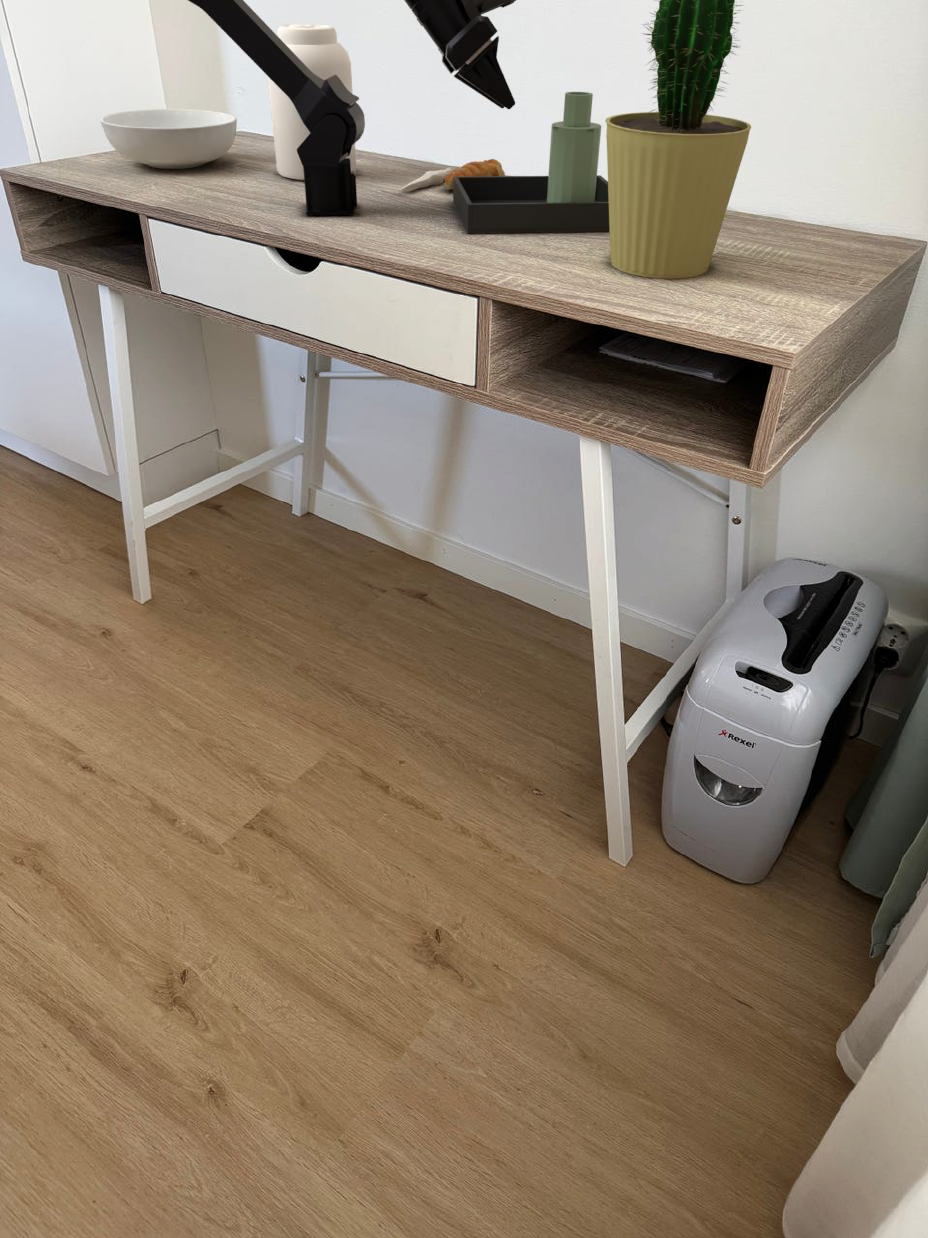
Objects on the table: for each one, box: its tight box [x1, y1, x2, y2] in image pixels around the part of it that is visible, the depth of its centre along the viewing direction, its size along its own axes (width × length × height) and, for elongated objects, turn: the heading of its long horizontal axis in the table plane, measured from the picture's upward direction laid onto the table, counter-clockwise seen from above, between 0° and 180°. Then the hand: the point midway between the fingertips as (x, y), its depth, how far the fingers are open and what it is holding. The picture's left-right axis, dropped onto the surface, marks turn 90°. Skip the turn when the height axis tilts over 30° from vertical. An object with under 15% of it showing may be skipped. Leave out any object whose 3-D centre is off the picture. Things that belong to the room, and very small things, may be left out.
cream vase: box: [267, 23, 357, 181], centre depth 141 cm, size 12×12×20 cm
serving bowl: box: [100, 108, 238, 170], centre depth 150 cm, size 21×21×7 cm
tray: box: [452, 174, 610, 235], centre depth 125 cm, size 21×17×4 cm
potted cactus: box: [604, 0, 752, 279], centre depth 99 cm, size 15×15×30 cm
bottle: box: [547, 91, 602, 203], centre depth 120 cm, size 6×6×14 cm
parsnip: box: [400, 167, 452, 192], centre depth 141 cm, size 15×3×2 cm, turn 152°
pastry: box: [443, 158, 506, 190], centre depth 138 cm, size 9×7×4 cm
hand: (508, 106), depth 118 cm, fingers open, 9 cm apart
